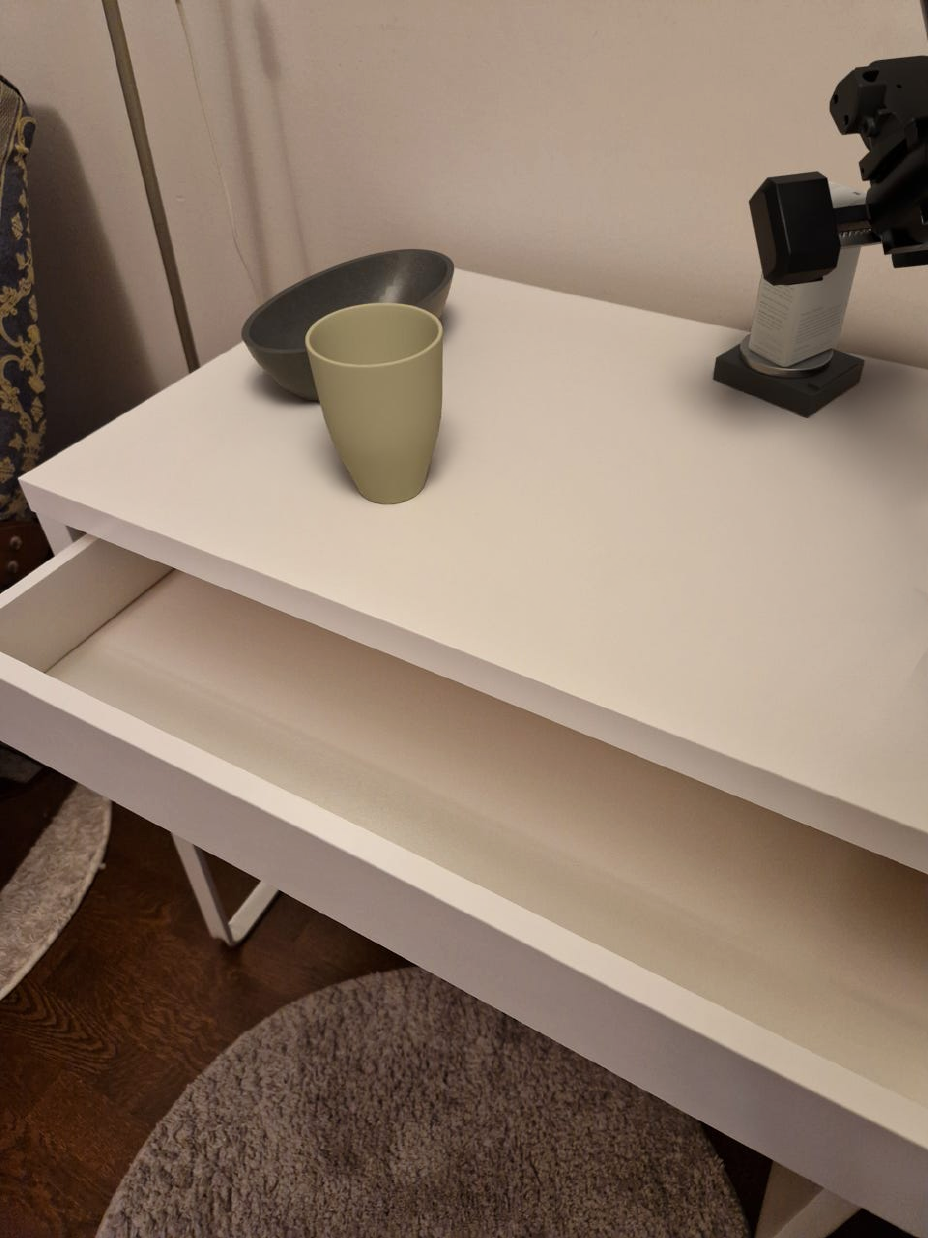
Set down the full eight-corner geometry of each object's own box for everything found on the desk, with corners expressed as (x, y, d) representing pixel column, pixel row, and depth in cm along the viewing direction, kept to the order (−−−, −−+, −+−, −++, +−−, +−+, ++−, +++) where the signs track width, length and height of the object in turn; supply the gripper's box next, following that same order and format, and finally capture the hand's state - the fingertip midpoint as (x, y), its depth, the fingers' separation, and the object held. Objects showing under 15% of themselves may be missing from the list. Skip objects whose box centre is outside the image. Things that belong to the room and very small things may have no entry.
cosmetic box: (798, 328, 80) (829, 176, 72) (840, 349, 78) (878, 193, 69) (743, 350, 78) (769, 195, 70) (785, 372, 75) (817, 213, 67)
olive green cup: (484, 470, 72) (479, 318, 64) (395, 537, 67) (377, 380, 59) (377, 425, 77) (360, 279, 69) (286, 483, 72) (256, 332, 64)
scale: (859, 382, 79) (868, 350, 77) (807, 418, 75) (814, 386, 74) (765, 346, 84) (771, 316, 82) (712, 379, 80) (717, 348, 79)
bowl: (220, 397, 82) (204, 329, 78) (393, 301, 94) (386, 237, 90) (322, 442, 76) (310, 370, 72) (492, 333, 88) (490, 266, 84)
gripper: (1093, -1, 56) (932, 146, 71) (790, 31, 53) (691, 176, 69) (1132, 187, 55) (962, 293, 71) (828, 227, 53) (721, 328, 69)
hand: (835, 269), depth 70 cm, fingers open, 9 cm apart
